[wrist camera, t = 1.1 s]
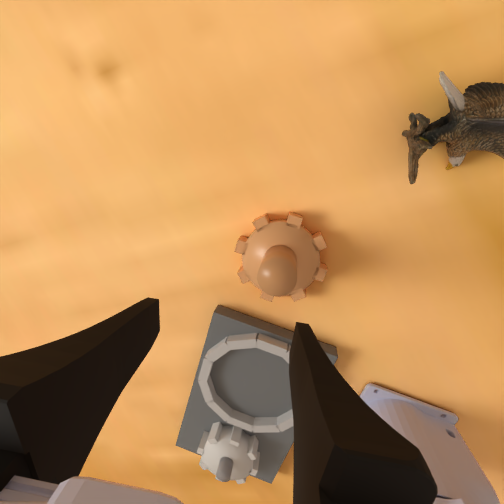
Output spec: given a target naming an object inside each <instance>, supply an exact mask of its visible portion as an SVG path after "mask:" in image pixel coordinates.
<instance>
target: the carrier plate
mask: <svg viewBox="0 0 504 504" xmlns="http://www.w3.org/2000/svg"><path fill="white" fill-rule="evenodd" d="M293 335H294V332H293V331H290V330H287V329H284V328H281V327H279V326H276V325H273V324H270V323H268V322H265V321H262V320H259V319H256V318H254V317H251V316H248V315H245V314H242V313H240V312H237V311H234V310H231V309H229V308H226V307H223V306H220V305H218V306H217V307H216V309H215V311H214V313H213V316H212V320H211V323H210V327H209V330H208V334H207V337H206V341H205V344H204V348H203V351H202V355H201V358H200V362H199V365H198V369H197V372H196V376H195V379H194V383H193V386H192V390H191V393H190V397H189V400H188V404H187V407H186V411H185V414H184V418H183V421H182V425H181V428H180V432H179V435H178V439H177V442H176V446H179V447H181V448H184V449H186V450H189V451H191V452H193V453H196V454H198V455H201V456H202V457H201V460H200V463H199V465H200V466H201V467H202V469H203V470H205V469H208V470H209V471H210V472H212V473H213V474H215V475H216V478H215V479H217V480H219V481H222V482H227V481H229V480H236V482H237V483H238V484H241V483H245V481H246V477H247V476H249V475H251V476H253V477H256V478H258V479H261V480H263V481H266V482H268V483H272V482H273V480H274V478H275V476H276V474H277V472H278V470H279V468H280V466H281V464H282V463H283V461H284V459H285V457H286V455H287V453H288V451H289V449H290V447H291V445H292V444H293V442H294V425H293V411H292V401H291V390H290V379H289V352H290V348H291V343H292V339H293ZM318 342H319V343H320V345H321V347H322V348H323V350H324V351H325V353H326V355H327V356H328V358H329V359H330V361H331V362H332V364H333V365H334V364H335V362H336V360H337V358H338V355H337V350H336V347H334V346H332V345H329V344H326V343H323V342H320V341H318Z"/></svg>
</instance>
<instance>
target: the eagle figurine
mask: <svg viewBox="0 0 504 504" xmlns="http://www.w3.org/2000/svg"><path fill="white" fill-rule="evenodd" d="M439 75H440V78H439V81H440V84H441V86H442V87H443V89H444V91H445V93H446V96H447V97H448V102H449V107H450V113H448V114H447V115H446V116H444V117H441V118H440V119H439V120H437V121H435V122H433V123H431V124H429V123H430V119H428V118H426V117H425V116H423V115H422V114H420V113H418V114H416V115H414V113H411V114H410V115H409V120H410V121H411V125H410V131H407V130H406V131H403V133H402V135H403V136H405V137H406V138H407V140H408V145H409V157H408V162H409V176H408V177H409V180H410V184H413V183H415V181H416V177H417V172H418V159H419V158H420V156H421V155H422V154H423V153H424V152H425V151H426V150H427V149H431V148H432V146H434V145H436V144H437V143H438V142H446V147H447V153H448V156H449V164H448V166H447V167H446V170H449V169H451V168H453V167H455V166H459V165H460V164H461V163H462V161H463V159H464V157H465V155H466V154H467V152H469V151H473V150H481V151H488V152H492V153H495V154H497V155H499V156H501V157H502V158H504V84H503V83H489V82H486V83H485V82H481V83H476V84H475V85H470V86H468V88H466V89H465V93H464V94H463V95H462V94H461V93H460V91H459V90H458V89H457V88H456V87H455V86H454V84H453V83H452V82H451V81H450V79H449V78H448V77H447V76H446V75H445V74H444V72H442V71H441V72H440V73H439ZM417 120H418V121H419V125H418V127H417Z"/></svg>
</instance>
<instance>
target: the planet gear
mask: <svg viewBox="0 0 504 504" xmlns="http://www.w3.org/2000/svg"><path fill="white" fill-rule="evenodd" d="M302 220H303V216H301V215H298V214H295V213H292V212H289V215H288V218H287V220H286V219H277V220H271V221H270V219H269V217H268V215H267V213H266V214H264V215H263V216H261V217H259V218H257V219H255V220H254V221H253V224H254V226H255V228H256V229H255V230H254V231H253V233H252V234H251V235H250V237H249V238H246V237H244V236H241V237H240V238H239V239H238V241H237V244H236V248H235V251H234V252H237V253H240V254H242V264H243V266H242V267H240V269H239V270H238V272H237V274H238V276H239V277H240V279H241V281H242V283H243V284H244V283H246V282H248V281H251V283H252V284H253V285H255V286H256V287H257V288H258V289H260V290H262V292H261V296H260V298H262V299H265V300H268V301H271V302H272V300H273V297H274V296H277V297H279V296H288V295H291V297H292V298H293V300H294V302H295V301H297V300H300V299H303V298H305V297H306V290H305V288H307V287H308V286H309V285H310V284H311V283H312V282H313V280H314V279H315V280H318V281H321V282H323V280H324V277H325V275H326V273H327V271H328V270H327V267H326V264H323V263H320V253H319V251H320V250H322V249H325V248H327V245H326V243H325V241H324V239H323V236H322V234H321V232H320V231H319V232H317V233H315V234H313V235H312V234H311V233H310V231H309V230H308V229H306V228H305V227H304V226H303V225H301V223H302Z"/></svg>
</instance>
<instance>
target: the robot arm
mask: <svg viewBox="0 0 504 504" xmlns="http://www.w3.org/2000/svg"><path fill="white" fill-rule="evenodd" d="M159 331H160V320H159V299H154V298H146V299H144V300H142V301H140V302H138V303H136V304H134V305H132V306H131V307H129V308H127V309H125V310H123V311H121V312H120V313H118V314H116V315H114V316H112V317H110V318H108V319H106V320H104V321H102V322H100V323H98V324H96V325H94V326H92V327H89V328H87V329H85V330H83V331H80V332H78V333H75V334H73V335H70V336H68V337H65V338H62V339H59V340H56V341H53V342H51V343H48V344H45V345H42V346H39V347H35V348H32V349H28V350H25V351H21V352H17V353H14V354H10V355H6V356H2V357H0V504H183V503H182V502H181V501H179V500H178V499H177V498H175V497H173V496H170V495H167V494H164V493H162V492H158V491H153V490H148V489H143V488H139V487H134V486H129V485H124V484H119V483H115V482H110V481H105V480H100V479H96V478H91V477H78V476H79V474H80V472H81V469H82V467H83V465H84V463H85V461H86V459H87V457H88V455H89V453H90V451H91V449H92V447H93V445H94V443H95V441H96V439H97V437H98V435H99V433H100V431H101V429H102V427H103V425H104V423H105V421H106V419H107V417H108V416H109V414H110V412H111V410H112V408H113V406H114V405H115V403H116V401H117V399H118V397H119V396H120V394H121V392H122V391H123V389H124V388H125V386H126V385H127V383H128V382H129V380H130V379H131V377H132V376H133V374H134V373H135V371H136V370H137V368H138V367H139V365H140V364H141V363H142V361H143V360H144V358H145V357H146V355H147V354H148V352H149V351H150V349H151V347H152V345H153V344H154V342H155V340H156V338H157V336H158V333H159ZM289 379H290V390H291V401H292V411H293V425H294V485H293V504H500V502H499V499H498V497H497V495H496V492H495V490H494V489H493V487H492V485H491V483H490V482H489V480H488V478H487V477H486V475H485V474H484V472H483V470H482V469H481V467H480V466H479V464H478V462H477V461H476V459H475V458H474V456H473V454H472V453H471V451H470V449H469V448H468V446H467V445H466V443H465V441H464V440H463V438H462V437H461V435H460V433H459V432H458V430H457V429H456V427H455V424H456V423H457V421H458V417H457V416H456V414H454V413H452V412H449V411H446V410H444V409H441V408H438V407H435V406H433V405H430V404H427V403H424V402H422V401H419V400H416V399H414V398H411V397H408V396H405V395H403V394H400V393H397V392H394V391H392V390H389V389H386V388H383V387H381V386H378V385H375V384H372V383H369V384H367V385H366V386H365V388H364V390H363V391H362V393H361V395H360V396H358V394H357V393H356V392H355V391H354V390H353V389H352V388H351V387H350V385H349V384H348V383H347V382H346V381H345V380H344V378H343V377H342V376H341V375H340V373H339V372H338V371H337V369H336V368H335V366H334V365H333V364H332V362H331V361H330V359H329V358H328V356H327V355H326V353H325V351H324V350H323V348H322V347H321V345H320V343H319V342H318V340H317V338H316V336H315V335H314V333H313V331H312V329H311V327H310V326H309V324H305V323H299V322H296V326H295V330H294V335H293V339H292V343H291V348H290V352H289ZM376 389H377V390H376Z"/></svg>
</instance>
